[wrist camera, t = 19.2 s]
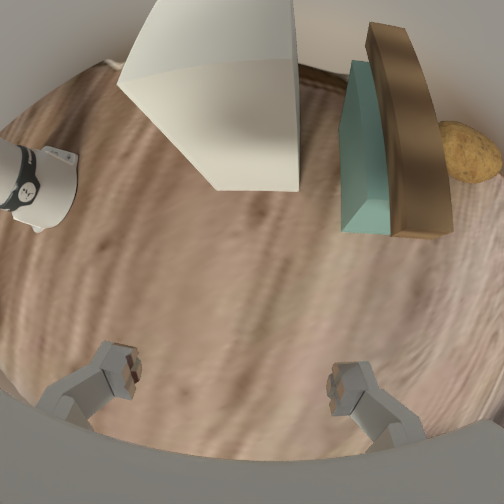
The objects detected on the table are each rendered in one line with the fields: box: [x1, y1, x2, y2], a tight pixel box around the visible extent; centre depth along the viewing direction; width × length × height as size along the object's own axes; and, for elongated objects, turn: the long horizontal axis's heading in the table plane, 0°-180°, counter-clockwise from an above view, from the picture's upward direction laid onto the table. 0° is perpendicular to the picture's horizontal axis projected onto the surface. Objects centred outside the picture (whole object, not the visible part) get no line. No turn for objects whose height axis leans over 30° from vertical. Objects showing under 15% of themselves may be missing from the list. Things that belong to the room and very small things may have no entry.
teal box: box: [339, 60, 390, 235], centre depth 29 cm, size 8×16×16 cm, turn 176°
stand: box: [117, 0, 300, 192], centre depth 28 cm, size 12×18×26 cm, turn 176°
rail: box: [365, 22, 453, 240], centre depth 20 cm, size 22×4×4 cm, turn 176°
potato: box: [438, 121, 503, 184], centre depth 31 cm, size 10×14×8 cm
